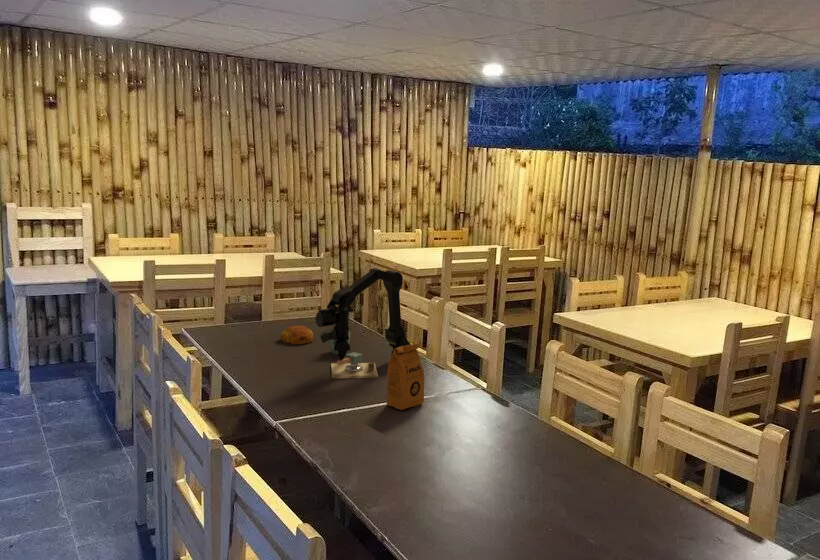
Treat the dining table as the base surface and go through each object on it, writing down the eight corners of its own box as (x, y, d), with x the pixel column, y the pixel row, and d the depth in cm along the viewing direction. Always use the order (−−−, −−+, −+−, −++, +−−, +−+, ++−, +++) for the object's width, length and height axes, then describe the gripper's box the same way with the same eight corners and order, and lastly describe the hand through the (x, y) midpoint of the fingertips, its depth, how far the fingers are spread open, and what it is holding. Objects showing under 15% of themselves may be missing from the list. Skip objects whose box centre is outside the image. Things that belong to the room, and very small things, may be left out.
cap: (353, 359, 269) (354, 351, 268) (362, 361, 266) (362, 353, 265) (334, 365, 260) (334, 357, 259) (342, 368, 257) (342, 359, 256)
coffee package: (428, 405, 232) (430, 345, 228) (400, 413, 224) (402, 351, 220) (409, 397, 239) (411, 339, 235) (382, 405, 231) (384, 344, 227)
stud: (362, 366, 270) (362, 359, 269) (363, 371, 263) (363, 364, 262) (345, 366, 269) (345, 359, 268) (345, 372, 262) (345, 364, 261)
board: (374, 365, 275) (374, 362, 275) (378, 377, 260) (378, 375, 259) (331, 365, 273) (331, 363, 272) (332, 378, 257) (332, 376, 257)
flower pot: (348, 356, 286) (348, 336, 285) (328, 355, 286) (328, 335, 285) (350, 350, 295) (350, 331, 293) (331, 349, 295) (331, 330, 293)
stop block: (369, 369, 266) (369, 362, 266) (374, 369, 266) (374, 362, 265) (368, 370, 264) (368, 363, 264) (373, 371, 264) (373, 364, 263)
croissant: (278, 342, 312) (276, 326, 310) (310, 335, 318) (308, 319, 316) (286, 350, 299) (283, 333, 297) (319, 342, 305) (316, 326, 303)
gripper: (321, 317, 267) (321, 354, 270) (320, 330, 249) (320, 369, 252) (348, 317, 269) (348, 353, 272) (350, 329, 251) (350, 368, 254)
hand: (341, 361), depth 262 cm, fingers closed
